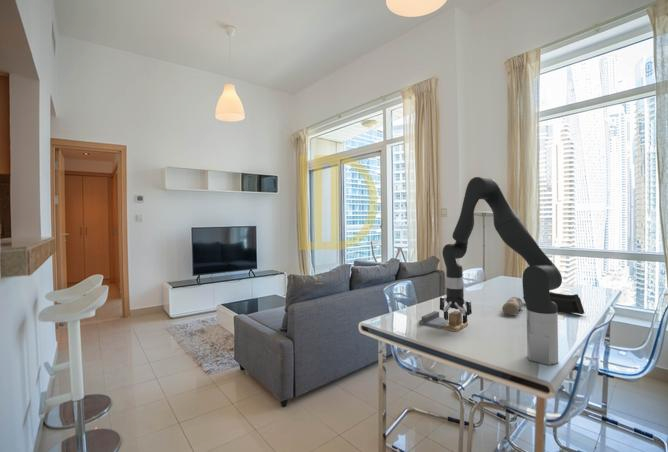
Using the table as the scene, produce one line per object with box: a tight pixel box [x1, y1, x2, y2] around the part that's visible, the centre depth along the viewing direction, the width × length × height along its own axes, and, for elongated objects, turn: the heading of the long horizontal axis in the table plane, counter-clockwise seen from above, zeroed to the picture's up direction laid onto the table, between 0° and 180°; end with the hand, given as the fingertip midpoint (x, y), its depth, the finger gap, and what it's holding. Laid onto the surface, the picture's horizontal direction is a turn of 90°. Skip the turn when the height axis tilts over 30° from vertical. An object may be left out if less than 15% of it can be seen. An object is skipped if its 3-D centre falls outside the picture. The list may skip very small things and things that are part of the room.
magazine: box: [522, 291, 585, 315], centre depth 174 cm, size 17×3×30 cm
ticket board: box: [418, 310, 449, 330], centre depth 156 cm, size 13×12×4 cm
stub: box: [443, 310, 469, 333], centre depth 149 cm, size 12×7×7 cm, turn 135°
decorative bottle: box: [501, 296, 524, 316], centre depth 174 cm, size 26×8×7 cm, turn 142°
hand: (455, 321), depth 149 cm, fingers open, 8 cm apart
